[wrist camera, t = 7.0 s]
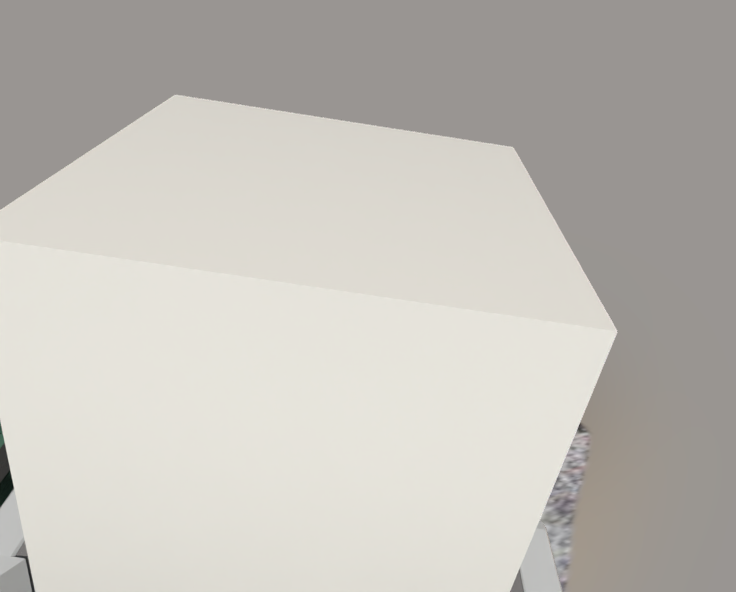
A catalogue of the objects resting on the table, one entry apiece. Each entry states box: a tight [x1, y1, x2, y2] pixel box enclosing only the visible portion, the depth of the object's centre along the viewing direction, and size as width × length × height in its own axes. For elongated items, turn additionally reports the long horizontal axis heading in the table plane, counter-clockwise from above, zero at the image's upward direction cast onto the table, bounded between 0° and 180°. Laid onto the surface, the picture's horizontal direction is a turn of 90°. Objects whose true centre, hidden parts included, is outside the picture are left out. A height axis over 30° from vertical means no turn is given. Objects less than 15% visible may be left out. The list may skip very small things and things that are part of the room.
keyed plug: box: [0, 95, 617, 592], centre depth 9 cm, size 4×5×12 cm
